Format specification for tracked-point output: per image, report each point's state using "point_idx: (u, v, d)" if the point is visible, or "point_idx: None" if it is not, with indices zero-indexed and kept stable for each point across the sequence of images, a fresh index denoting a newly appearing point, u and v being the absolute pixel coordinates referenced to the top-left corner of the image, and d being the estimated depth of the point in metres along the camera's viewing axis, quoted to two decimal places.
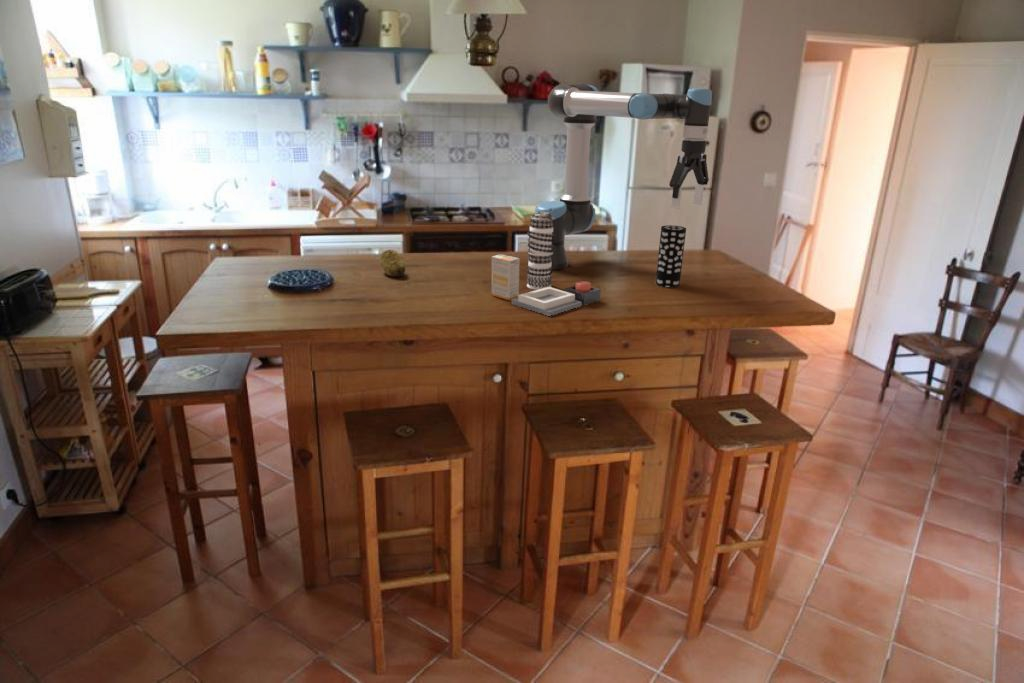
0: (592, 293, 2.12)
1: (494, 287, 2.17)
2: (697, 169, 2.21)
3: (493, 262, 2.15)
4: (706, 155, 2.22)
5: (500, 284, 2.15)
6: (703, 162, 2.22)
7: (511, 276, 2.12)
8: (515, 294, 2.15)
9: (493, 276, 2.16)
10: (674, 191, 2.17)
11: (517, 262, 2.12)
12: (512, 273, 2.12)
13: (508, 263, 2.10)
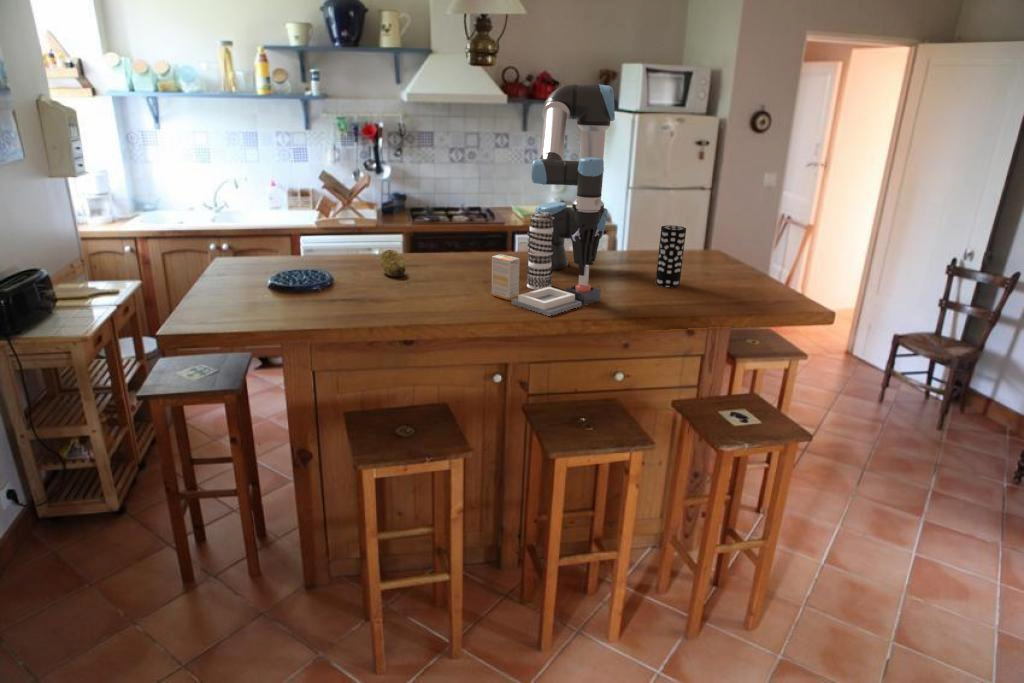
0: (592, 293, 2.12)
1: (494, 287, 2.17)
2: (588, 242, 2.09)
3: (493, 262, 2.15)
4: (602, 233, 2.12)
5: (500, 284, 2.15)
6: (596, 237, 2.11)
7: (512, 276, 2.12)
8: (515, 294, 2.15)
9: (493, 276, 2.16)
10: (580, 268, 2.11)
11: (517, 262, 2.12)
12: (512, 273, 2.12)
13: (508, 263, 2.10)
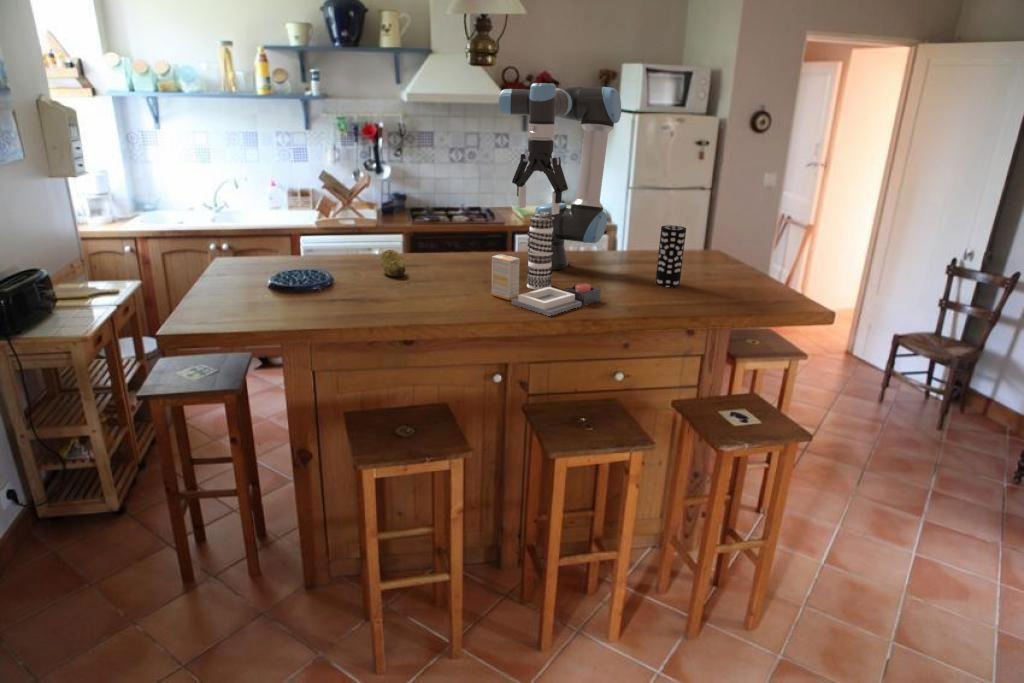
0: (592, 293, 2.12)
1: (494, 287, 2.17)
2: None
3: (493, 262, 2.15)
4: (555, 159, 1.97)
5: (500, 284, 2.15)
6: None
7: (512, 276, 2.12)
8: (515, 294, 2.15)
9: (493, 276, 2.16)
10: None
11: (517, 262, 2.12)
12: (512, 273, 2.12)
13: (508, 263, 2.10)
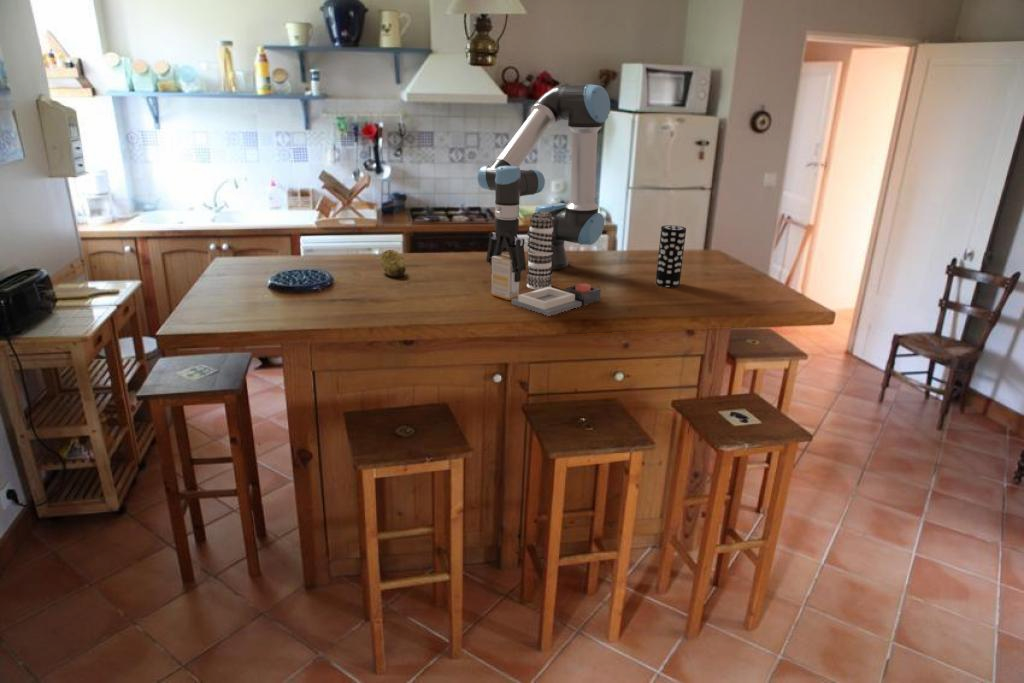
0: (592, 293, 2.12)
1: (494, 287, 2.17)
2: None
3: (493, 262, 2.15)
4: (518, 241, 2.06)
5: (500, 284, 2.15)
6: None
7: (511, 276, 2.12)
8: (515, 294, 2.15)
9: (493, 276, 2.16)
10: None
11: None
12: None
13: (508, 263, 2.10)
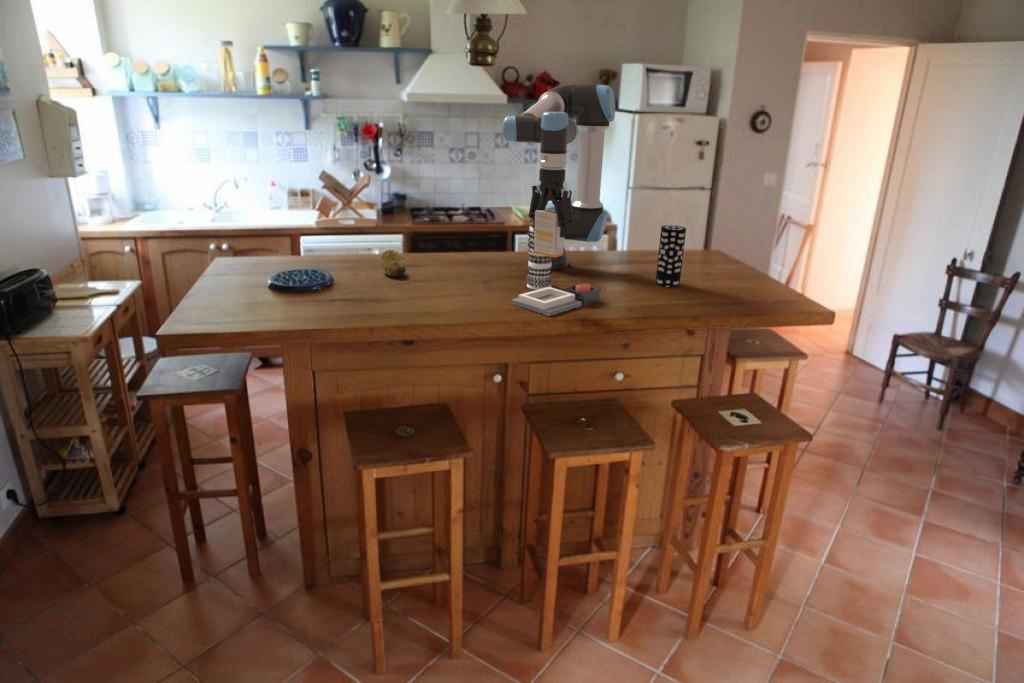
0: (592, 293, 2.12)
1: (537, 244, 2.04)
2: None
3: (536, 217, 2.01)
4: (566, 192, 1.93)
5: (544, 240, 2.01)
6: None
7: None
8: (560, 251, 2.02)
9: (536, 232, 2.03)
10: None
11: None
12: None
13: (553, 217, 1.97)
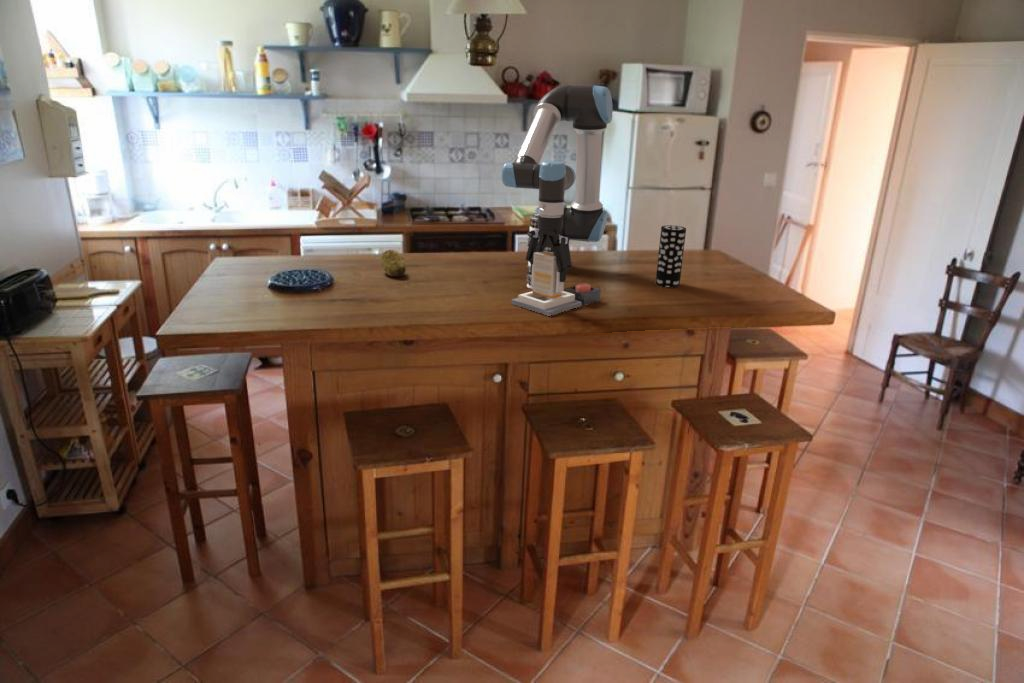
0: (592, 293, 2.12)
1: (535, 284, 2.08)
2: None
3: (534, 259, 2.06)
4: (563, 239, 1.97)
5: (542, 281, 2.06)
6: None
7: (555, 273, 2.03)
8: (558, 292, 2.07)
9: (535, 273, 2.07)
10: None
11: None
12: (555, 270, 2.03)
13: (551, 259, 2.01)
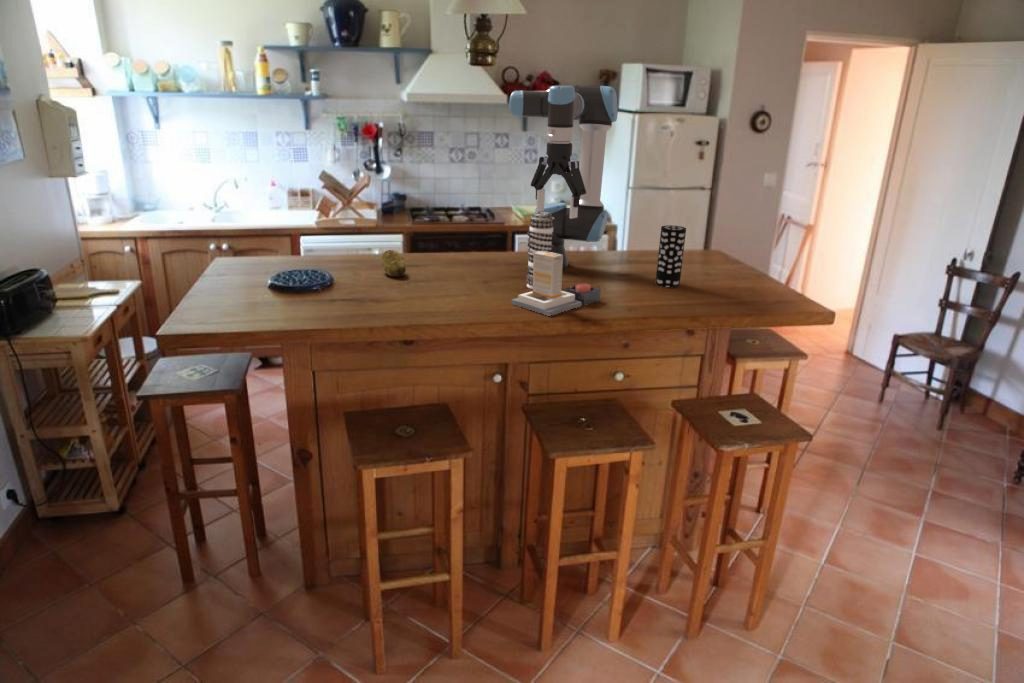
0: (592, 293, 2.12)
1: (535, 284, 2.08)
2: None
3: (534, 259, 2.06)
4: (573, 162, 1.95)
5: (542, 281, 2.06)
6: None
7: (555, 273, 2.03)
8: (558, 292, 2.07)
9: (535, 273, 2.07)
10: None
11: (560, 259, 2.03)
12: (555, 270, 2.03)
13: (551, 259, 2.01)
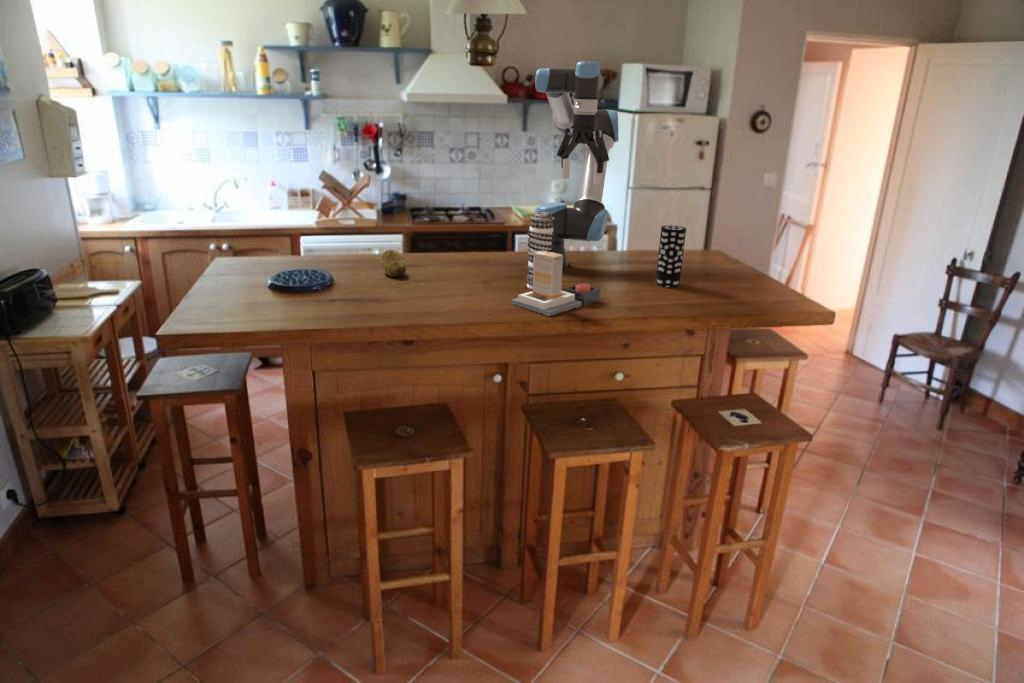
0: (592, 293, 2.12)
1: (535, 284, 2.08)
2: None
3: (534, 259, 2.06)
4: (597, 131, 2.13)
5: (542, 281, 2.06)
6: None
7: (555, 273, 2.03)
8: (558, 292, 2.07)
9: (535, 273, 2.07)
10: None
11: (560, 259, 2.03)
12: (555, 270, 2.03)
13: (551, 259, 2.01)
